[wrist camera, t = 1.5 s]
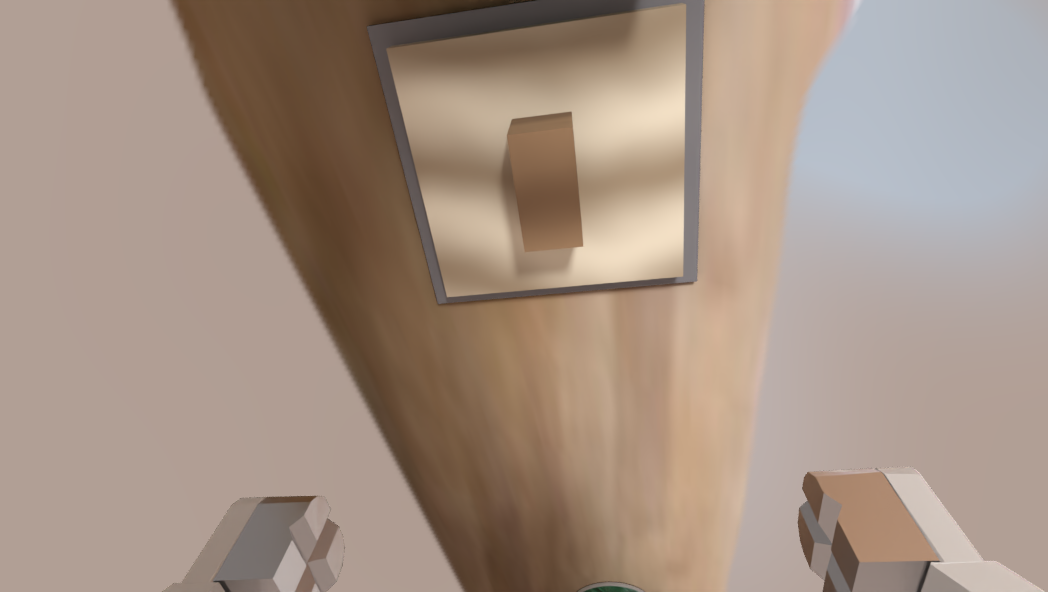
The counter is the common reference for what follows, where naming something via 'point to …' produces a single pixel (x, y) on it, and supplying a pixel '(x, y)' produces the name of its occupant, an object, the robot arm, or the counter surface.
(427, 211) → the lid
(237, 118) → the counter surface
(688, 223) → the mat
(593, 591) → the canned tomato
